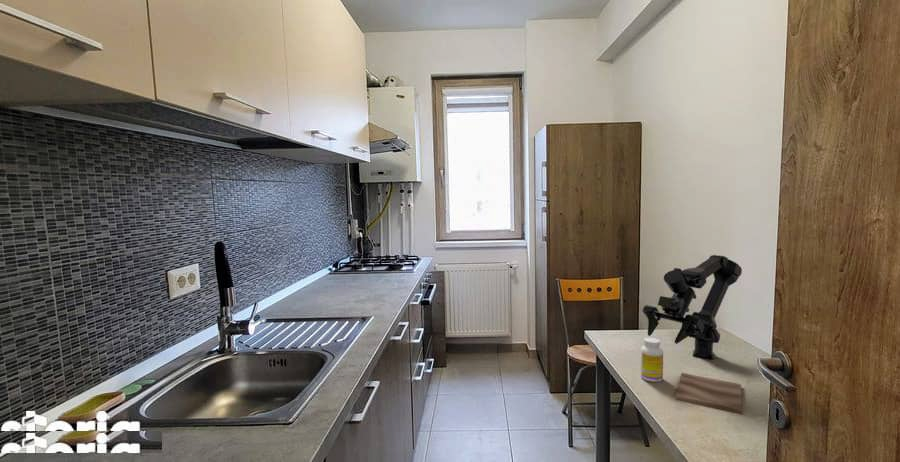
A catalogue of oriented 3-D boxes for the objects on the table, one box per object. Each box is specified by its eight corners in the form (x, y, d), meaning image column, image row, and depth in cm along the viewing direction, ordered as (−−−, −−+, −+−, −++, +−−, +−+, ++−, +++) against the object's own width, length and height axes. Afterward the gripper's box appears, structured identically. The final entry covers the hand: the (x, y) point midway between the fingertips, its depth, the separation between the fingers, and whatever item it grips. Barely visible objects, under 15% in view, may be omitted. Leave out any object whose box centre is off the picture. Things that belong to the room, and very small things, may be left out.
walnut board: (681, 375, 137) (681, 372, 137) (740, 387, 128) (740, 384, 128) (675, 398, 122) (675, 395, 122) (741, 413, 113) (741, 410, 113)
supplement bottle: (665, 383, 131) (666, 344, 130) (643, 382, 133) (643, 343, 132) (659, 374, 138) (660, 337, 137) (638, 373, 139) (638, 336, 138)
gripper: (645, 282, 146) (626, 318, 141) (701, 292, 131) (681, 333, 126) (657, 300, 151) (639, 336, 146) (712, 312, 136) (694, 352, 131)
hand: (661, 339), depth 137 cm, fingers open, 9 cm apart
